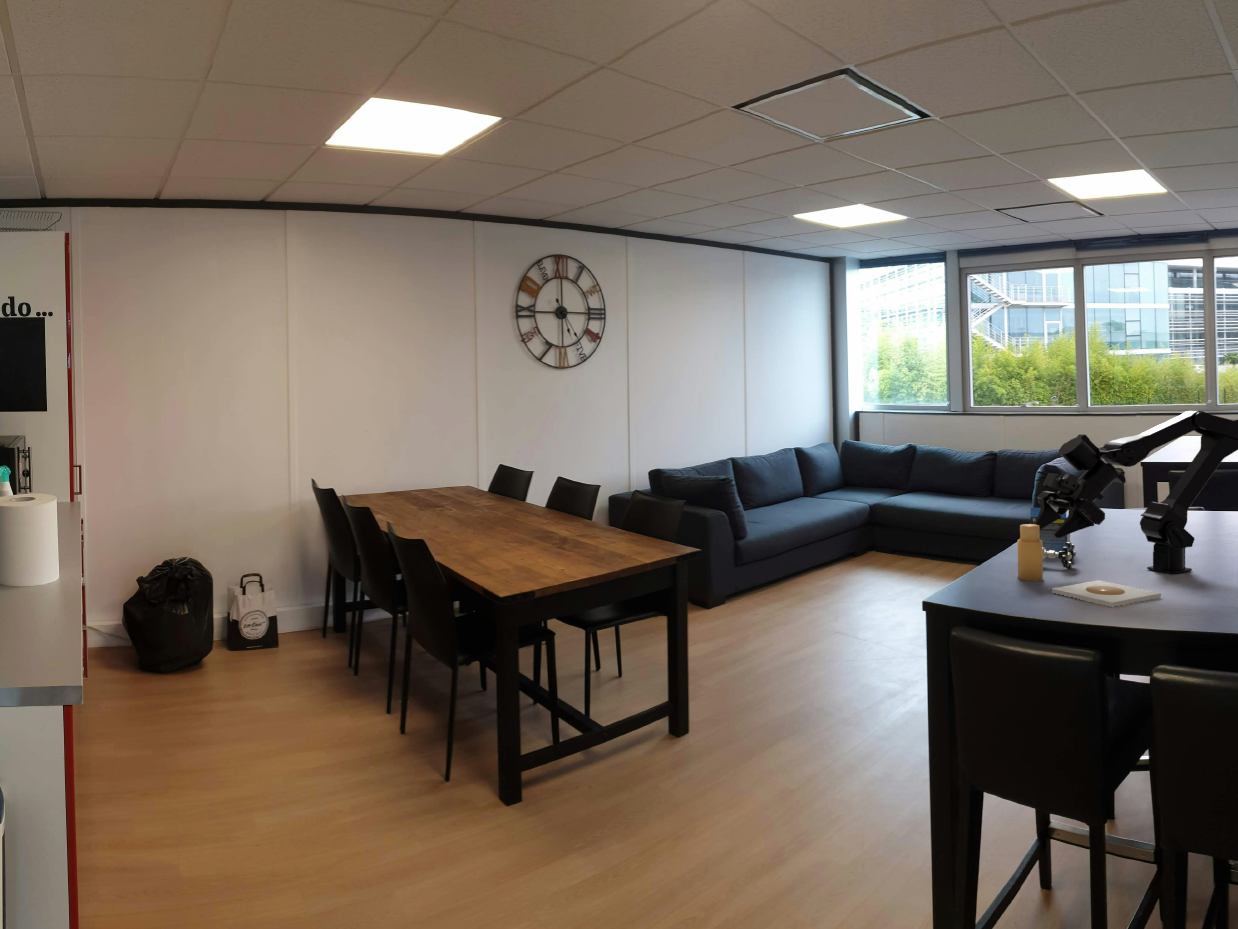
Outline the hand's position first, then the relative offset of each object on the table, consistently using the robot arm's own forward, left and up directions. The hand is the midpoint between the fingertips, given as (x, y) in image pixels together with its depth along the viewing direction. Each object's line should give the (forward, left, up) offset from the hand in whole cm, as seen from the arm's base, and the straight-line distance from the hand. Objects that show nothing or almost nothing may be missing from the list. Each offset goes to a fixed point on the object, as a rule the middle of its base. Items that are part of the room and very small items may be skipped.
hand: (1044, 533), depth 186 cm
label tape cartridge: (-24, -19, -11) cm, 32 cm away
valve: (-10, -9, -11) cm, 17 cm away
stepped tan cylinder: (+3, -1, -10) cm, 11 cm away
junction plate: (+3, +18, -10) cm, 21 cm away
